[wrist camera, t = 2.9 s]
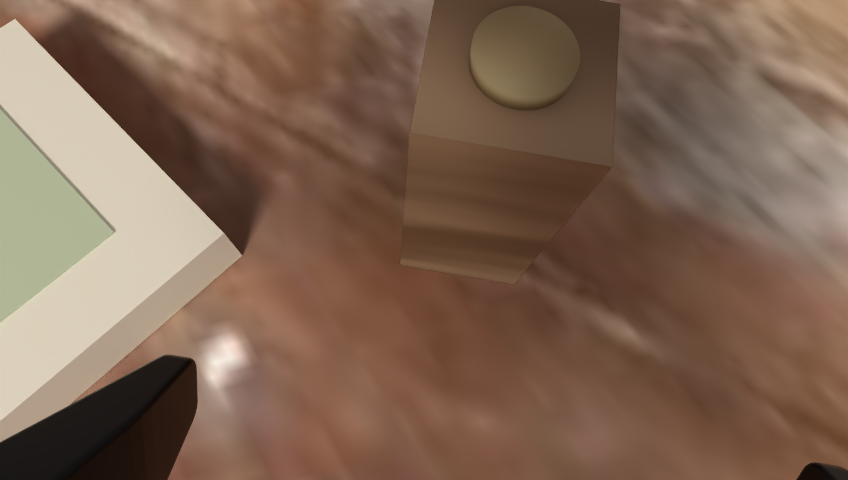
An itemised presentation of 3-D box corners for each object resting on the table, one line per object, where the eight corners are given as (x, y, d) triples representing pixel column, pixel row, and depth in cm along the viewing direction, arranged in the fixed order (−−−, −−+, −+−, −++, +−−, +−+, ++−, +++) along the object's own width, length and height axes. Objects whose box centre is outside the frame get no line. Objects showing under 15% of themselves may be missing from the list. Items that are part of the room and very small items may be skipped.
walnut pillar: (513, 284, 21) (621, 155, 12) (400, 265, 21) (410, 120, 12) (524, 181, 23) (628, -12, 13) (418, 163, 23) (441, -44, 13)
